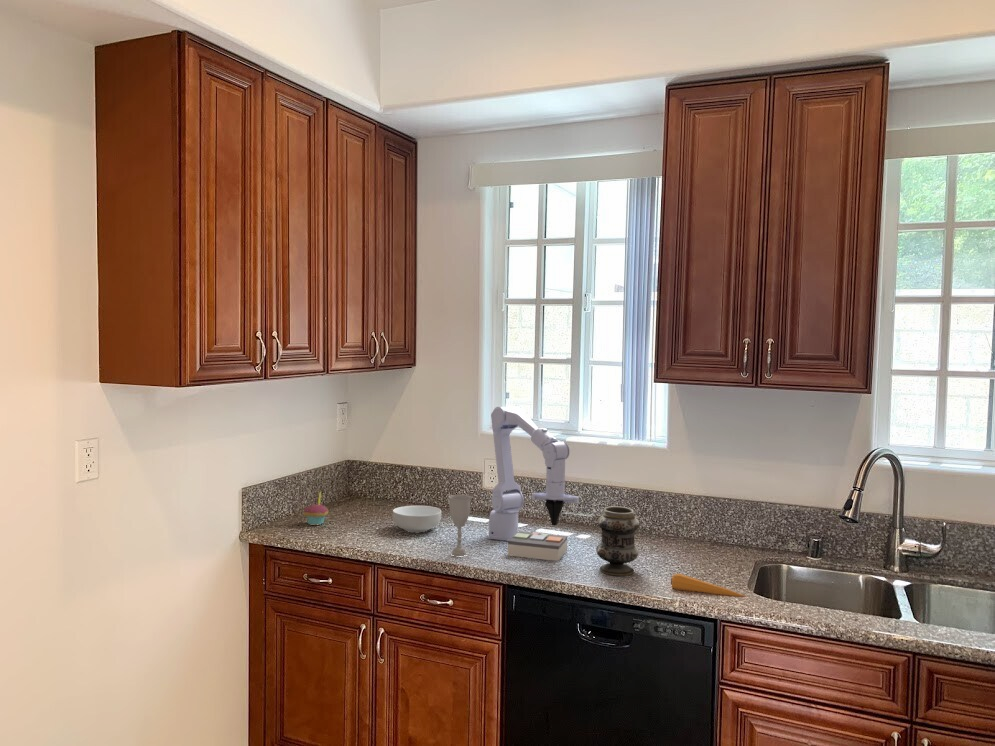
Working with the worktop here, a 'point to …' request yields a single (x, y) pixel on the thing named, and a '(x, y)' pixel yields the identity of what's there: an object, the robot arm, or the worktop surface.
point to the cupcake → (316, 512)
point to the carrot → (699, 586)
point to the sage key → (522, 536)
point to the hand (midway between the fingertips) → (554, 524)
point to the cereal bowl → (416, 518)
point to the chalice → (459, 518)
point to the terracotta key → (554, 539)
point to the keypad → (537, 547)
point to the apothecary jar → (617, 540)
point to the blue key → (538, 537)
